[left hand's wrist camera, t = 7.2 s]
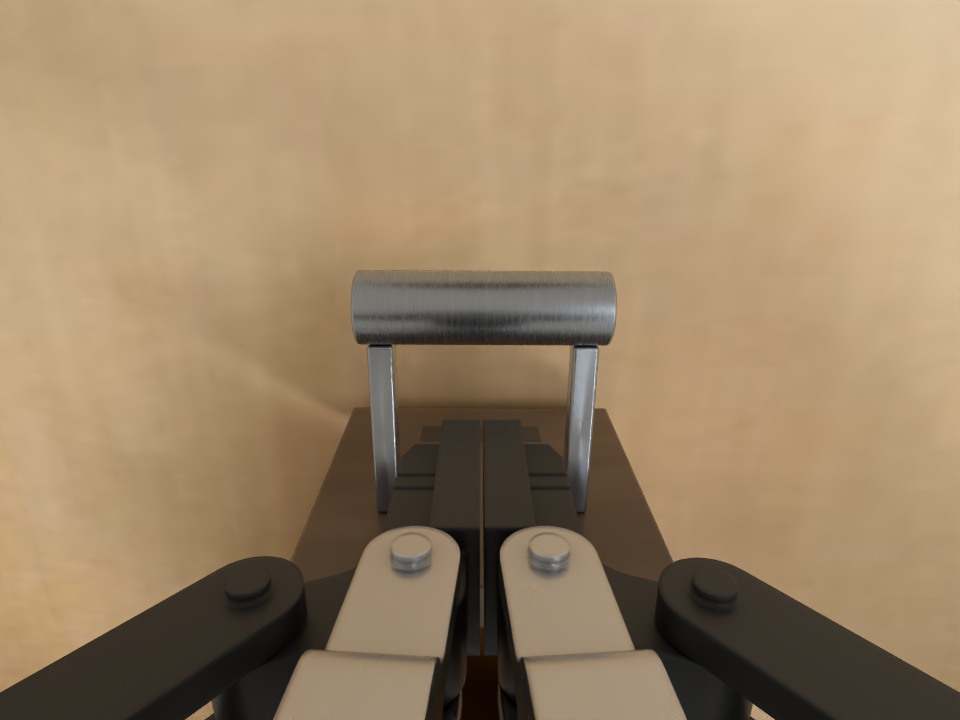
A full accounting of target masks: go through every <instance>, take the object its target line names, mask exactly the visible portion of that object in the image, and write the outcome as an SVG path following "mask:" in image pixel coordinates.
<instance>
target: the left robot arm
mask: <svg viewBox="0 0 960 720" xmlns="http://www.w3.org/2000/svg"><path fill="white" fill-rule="evenodd" d="M483 563H484V655H498V708H499V717H500V720H755V719H753V718H752V717H751V716H750V714H751V709H752V705H753V704H754V705H756V706H757V707H758V708H760V709H761V710H763V711H764V712H765V713H767V714H768V715H770V716H771V717H772V718H774V719H775V720H960V692H958V691H956V690H954V689H952V688H951V687H949V686H947V685H945V684H944V683H942V682H940V681H938V680H937V679H935V678H933V677H931V676H929V675H928V674H926V673H924V672H922V671H921V670H919V669H917V668H915V667H913V666H912V665H910V664H908V663H906V662H905V661H903V660H901V659H899V658H898V657H896V656H894V655H892V654H890V653H889V652H887V651H885V650H883V649H882V648H880V647H878V646H876V645H875V644H873V643H871V642H869V641H867V640H866V639H864V638H862V637H860V636H859V635H857V634H855V633H853V632H851V631H850V630H848V629H846V628H844V627H843V626H841V625H839V624H837V623H836V622H834V621H832V620H830V619H828V618H827V617H825V616H823V615H821V614H820V613H818V612H816V611H814V610H812V609H811V608H809V607H807V606H805V605H804V604H802V603H800V602H798V601H797V600H795V599H793V598H791V597H789V596H788V595H786V594H784V593H782V592H781V591H779V590H777V589H775V588H774V587H772V586H770V585H768V584H766V583H765V582H763V581H761V580H759V579H758V578H756V577H754V576H752V575H750V574H749V573H747V572H745V571H743V570H741V569H739V568H737V567H735V566H733V565H731V564H728V563H725V562H722V561H718V560H713V559H708V558H687V559H681V560H678V561H675V562H673V563H671V564H669V565H668V566H667V567H666V568H664V570H663V571H662V572H661V574H660V577H659V582H658V581H654V580H649V579H645V578H640V577H636V576H632V575H628V574H625V573H622V572H619V571H616V570H614V569H612V568H610V567H608V566H606V565H605V564H603V563H602V562H601V561H600V559H599V556H598V554H597V551H596V550H595V548H594V546H593V545H592V544H591V543H590V542H589V541H588V540H587V539H586V538H584V537H583V536H582V532H581V528H580V524H579V520H578V516H577V512H576V508H575V504H574V500H573V496H572V492H571V490H570V484H569V480H568V477H567V472H566V468H565V464H564V460H563V457H562V456H561V455H560V454H559V453H558V452H556V451H555V450H554V449H553V448H552V447H551V446H550V445H549V444H524V439H523V432H522V425H521V419H483ZM467 656H480V419H443V420H442V427H441V435H440V443H439V444H414V445H413V446H412V447H411V448H410V449H409V450H408V451H407V452H406V453H405V454H404V455H403V456H402V457H401V458H400V462H399V466H398V470H397V477H396V479H395V483H394V490H393V491H392V496H391V500H390V504H389V508H388V512H387V517H386V521H385V525H384V529H383V533H382V534H380V535H379V536H377V537H376V538H374V539H373V540H372V541H371V542H370V543H369V544H368V545H367V546H366V548H365V550H364V551H363V554H362V556H361V559H360V561H359V564H358V566H357V567H355V568H353V569H351V570H349V571H346V572H343V573H341V574H337V575H334V576H330V577H325V578H321V579H316V580H312V581H308V582H304V578H303V575H302V572H301V570H300V569H299V568H298V567H297V566H296V565H295V564H294V563H292V562H290V561H288V560H285V559H282V558H278V557H269V556H262V557H252V558H247V559H243V560H239V561H236V562H233V563H231V564H228V565H226V566H224V567H222V568H220V569H218V570H217V571H215V572H213V573H211V574H210V575H208V576H206V577H204V578H202V579H201V580H199V581H197V582H195V583H194V584H192V585H190V586H188V587H187V588H185V589H183V590H181V591H179V592H178V593H176V594H174V595H172V596H171V597H169V598H167V599H165V600H163V601H162V602H160V603H158V604H156V605H155V606H153V607H151V608H149V609H148V610H146V611H144V612H142V613H140V614H139V615H137V616H135V617H133V618H132V619H130V620H128V621H126V622H124V623H123V624H121V625H119V626H117V627H116V628H114V629H112V630H110V631H109V632H107V633H105V634H103V635H101V636H100V637H98V638H96V639H94V640H93V641H91V642H89V643H87V644H86V645H84V646H82V647H80V648H78V649H77V650H75V651H73V652H71V653H70V654H68V655H66V656H64V657H62V658H61V659H59V660H57V661H55V662H54V663H52V664H50V665H48V666H47V667H45V668H43V669H41V670H39V671H38V672H36V673H34V674H32V675H31V676H29V677H27V678H25V679H23V680H22V681H20V682H18V683H16V684H15V685H13V686H11V687H9V688H8V689H6V690H4V691H2V692H0V720H185V719H186V718H188V717H189V716H190V715H192V714H193V713H195V712H196V711H197V710H199V709H200V708H202V707H203V706H204V705H206V704H207V703H208V702H210V701H211V700H212V705H213V710H214V713H213V714H212V715H211V716H209V717H208V718H207V719H205V720H460V717H461V708H462V688H463V686H464V683H465V680H466V666H467Z"/></svg>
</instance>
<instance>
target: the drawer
mask: <svg viewBox="0 0 960 720" xmlns="http://www.w3.org/2000/svg"><path fill="white" fill-rule="evenodd" d="M616 312H617V299H616V287H615V282H614V278H613V276H612V274H611V273H610V272H589V271H410V270H358V271H356V273H355V275H354V278H353V283H352V290H351V321H352V329H353V334H354V338H355V340H356V342H357V343H358V344H369V345H368V347H367V357H368V374H369V390H370V407H371V408H354V409H353V412H352V414H351V417H350V419H349V422H348V424H347V426H346V429H345V431H344V434H343V436H342V438H341V441H340V443H339V446H338V448H337V450H336V453H335V455H334V458H333V460H332V462H331V465H330V467H329V470H328V472H327V474H326V477H325V479H324V482H323V484H322V487H321V489H320V491H319V494H318V496H317V499H316V501H315V503H314V506H313V508H312V511H311V513H310V515H309V518H308V520H307V523H306V525H305V527H304V530H303V532H302V535H301V537H300V539H299V542H298V544H297V547H296V549H295V552H294V554H293V556H292V559H291V561H290V562H292V563H294V564H295V565H296V566H297V567H298V568H299V569H300V570H301V572H302V575H303V578H304V582H308V581H312V580H316V579H321V578H325V577H330V576H334V575H337V574H341V573H343V572H346V571H349V570H351V569H353V568H355V567H357V566H358V564H359V561H360V559H361V556H362V554H363V551H364V550H365V548H366V546H367V545H368V544H369V543H370V542H371V541H372V540H373V539H374V538H376V537H377V536H379V535H380V534H382V533H383V529H384V525H385V521H386V517H387V512H388V508H389V504H390V500H391V496H392V491H393V490H394V483H395V479H396V477H397V470H398V466H399V462H400V458H401V457H402V456H403V455H404V454H405V453H406V452H407V451H408V450H409V449H410V448H411V447H412V446H413V445H414V444H439V443H440V435H441V427H442V420H443V419H480V656H467V666H466V680H465V683H464V686H463V688H462V708H461V717H460V720H500V717H499V708H498V655H484V563H483V419H521V425H522V432H523V439H524V444H549V445H550V446H551V447H552V448H553V449H554V450H555V451H556V452H558V453H559V454H560V455H561V456H562V457H563V460H564V464H565V468H566V472H567V477H568V480H569V484H570V490H571V492H572V496H573V500H574V504H575V508H576V512H577V516H578V520H579V524H580V528H581V532H582V536H583V537H584V538H586V539H587V540H588V541H589V542H590V543H591V544H592V545H593V546H594V548H595V550H596V551H597V554H598V556H599V559H600V561H601V562H602V563H603V564H605V565H606V566H608V567H610V568H612V569H614V570H616V571H619V572H622V573H625V574H628V575H632V576H636V577H640V578H645V579H649V580H654V581H658V582H659V577H660V574H661V572H662V571H663V570H664V568H666V567H667V566H668V565H669V564H671V563H673V560H672V558H671V556H670V553H669V551H668V549H667V546H666V544H665V542H664V540H663V537H662V535H661V533H660V531H659V528H658V526H657V524H656V522H655V519H654V517H653V515H652V513H651V510H650V508H649V506H648V504H647V501H646V499H645V497H644V495H643V492H642V490H641V488H640V486H639V483H638V481H637V479H636V477H635V474H634V472H633V470H632V468H631V465H630V463H629V461H628V459H627V456H626V454H625V452H624V450H623V447H622V445H621V443H620V441H619V438H618V436H617V434H616V432H615V429H614V427H613V425H612V423H611V420H610V418H609V416H608V413H607V411H606V409H594V407H595V395H596V382H597V370H598V357H599V348H598V346H597V345H609V344H610V343H611V341H612V338H613V335H614V330H615V324H616ZM395 345H571V346H570V362H569V378H568V394H567V408H398V397H397V374H396V351H395Z"/></svg>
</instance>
